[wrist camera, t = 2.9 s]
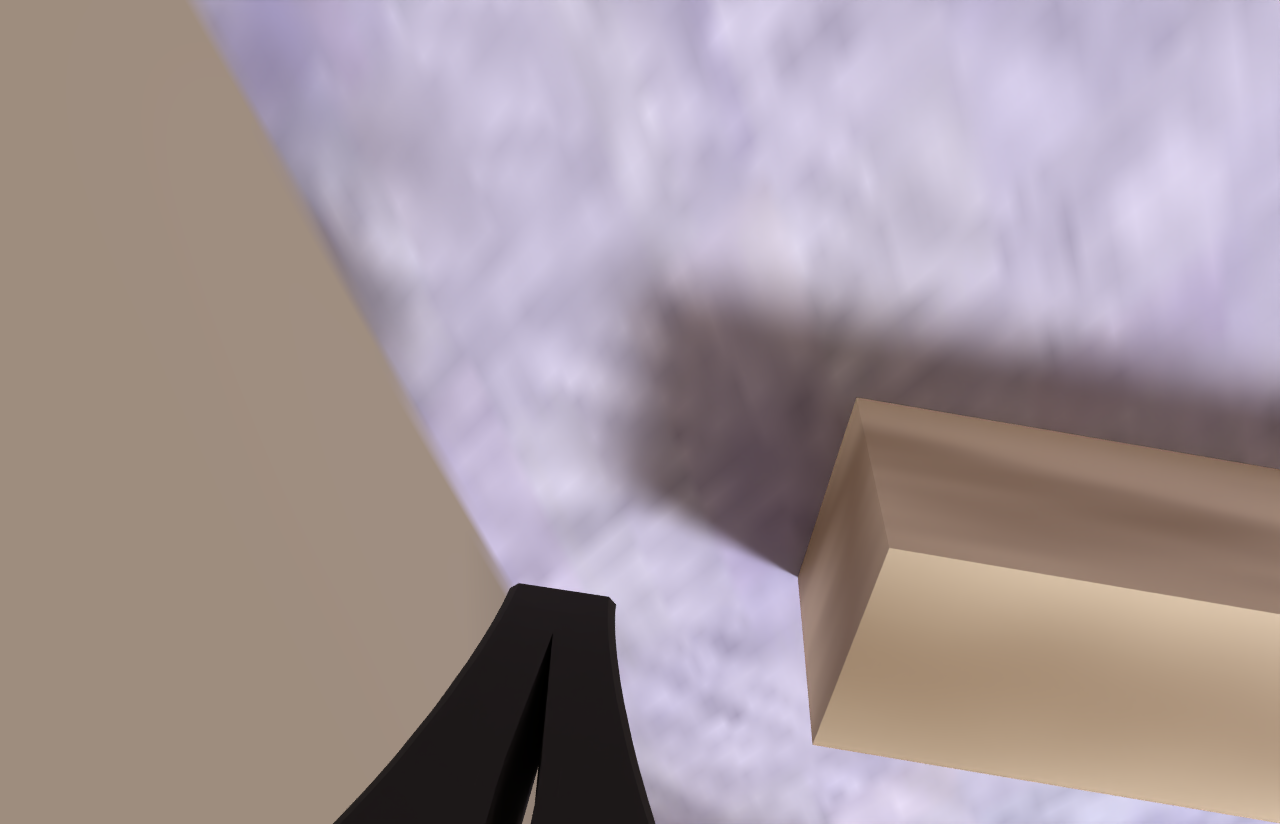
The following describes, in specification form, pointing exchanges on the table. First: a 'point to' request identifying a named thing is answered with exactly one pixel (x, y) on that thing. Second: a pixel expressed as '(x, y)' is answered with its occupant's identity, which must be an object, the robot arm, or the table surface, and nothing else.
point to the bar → (1048, 610)
